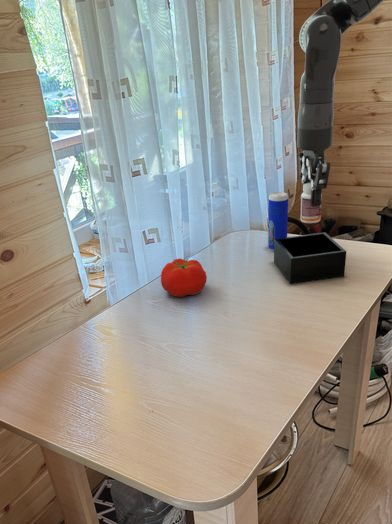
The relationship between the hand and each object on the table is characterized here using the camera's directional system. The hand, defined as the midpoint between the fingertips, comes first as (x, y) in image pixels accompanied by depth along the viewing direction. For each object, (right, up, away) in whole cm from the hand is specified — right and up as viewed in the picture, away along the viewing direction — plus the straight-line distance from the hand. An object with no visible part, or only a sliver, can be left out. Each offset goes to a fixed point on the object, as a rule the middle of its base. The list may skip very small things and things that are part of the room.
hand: (311, 202), depth 120 cm
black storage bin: (+1, -14, +9) cm, 17 cm away
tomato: (-30, -21, +4) cm, 37 cm away
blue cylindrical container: (-4, -7, +23) cm, 24 cm away
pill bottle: (0, -4, +2) cm, 5 cm away
